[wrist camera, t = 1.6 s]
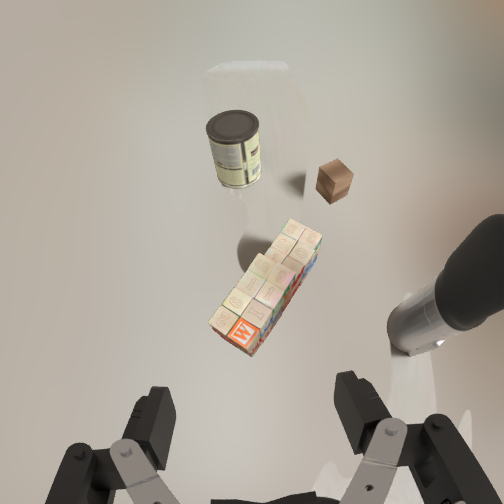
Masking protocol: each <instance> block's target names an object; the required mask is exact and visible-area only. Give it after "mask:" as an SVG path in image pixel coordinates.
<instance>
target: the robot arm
mask: <svg viewBox="0 0 504 504" xmlns="http://www.w3.org/2000/svg"><path fill="white" fill-rule="evenodd" d="M503 309H504V214H495V215H492V216H490V217H488V218H486V219H485V220H483V221H482V222H481V223H480V224H479V225H478V226H477V227H475V229H474V230H473V231H472V232H471V233H470V234H469V235H468V236H467V237H466V239H465V240H464V241H463V242H462V243H461V244H460V246H459V247H458V248H457V249H456V250H455V251H454V252H453V253H452V255H451V256H450V257H449V259H448V260H447V263H446V265H445V268H444V270H442V271H441V272H440V273H439V274H438V275H437V276H436V277H434V278H433V279H432V280H431V281H429V282H428V283H427V284H426V285H425V286H423V287H422V288H421V289H419V290H418V291H417V292H416V293H415V294H413V295H412V296H411V297H409V298H408V299H407V300H405V301H404V302H403V303H401V304H400V305H399V306H398V307H396V308H395V309H394V310H393V311H392V312H391V314H390V316H389V318H388V322H387V333H388V336H389V339H390V341H391V343H392V344H393V345H394V346H395V347H396V348H397V349H399V350H401V351H404V352H407V353H408V354H409V356H414V355H418V354H421V353H424V352H427V351H430V350H433V349H436V348H438V347H439V346H440V345H441V343H442V342H443V341H444V340H446V339H448V338H451V337H453V336H456V335H458V334H460V333H463V332H465V331H467V330H470V329H472V328H475V327H477V326H479V325H480V324H482V323H483V322H484V321H485V320H486V319H487V317H488V316H491V315H493V314H495V313H497V312H499V311H500V310H503ZM334 404H335V408H336V410H337V412H338V415H339V417H340V420H341V422H342V425H343V427H344V429H345V432H346V434H347V437H348V439H349V442H350V444H351V447H352V449H353V452H354V454H355V455H356V454H360V453H363V456H364V458H363V459H362V461H361V463H360V465H359V467H358V469H357V471H356V473H355V475H354V477H353V479H352V481H351V483H350V485H349V486H348V488H347V490H346V492H345V494H344V496H343V497H342V499H341V501H339V500H336V499H332V498H327V497H317V496H316V492H315V491H313V492H307V493H301V494H294V495H289V496H286V497H283V498H280V499H276V500H273V501H270V502H266V503H257V502H250V501H242V500H237V499H234V500H214V499H212V500H211V504H384V501H385V499H386V497H387V494H388V492H389V489H390V487H391V484H392V482H393V479H394V476H395V473H396V471H397V467H400V466H408V467H409V469H410V471H411V473H412V476H413V478H414V480H415V482H416V485H417V487H418V489H419V492H420V494H421V496H422V499H423V501H424V504H502V502H501V500H500V498H499V497H498V495H497V493H496V491H495V489H494V488H493V486H492V484H491V483H490V481H489V479H488V477H487V476H486V474H485V473H484V471H483V469H482V467H481V466H480V464H479V463H478V461H477V459H476V458H475V456H474V455H473V453H472V452H471V450H470V448H469V447H468V445H467V444H466V442H465V441H464V439H463V438H462V436H461V435H460V433H459V432H458V430H457V429H456V427H455V426H454V424H453V423H452V422H451V420H450V419H449V418H448V417H447V416H445V415H443V414H433V415H430V416H429V417H427V418H426V420H425V422H424V423H422V424H405V423H404V422H403V421H402V420H400V419H397V418H392V416H391V415H390V413H389V411H388V410H387V408H386V406H385V405H384V403H383V402H382V400H381V398H380V397H379V395H378V393H377V392H376V390H375V389H374V387H373V385H372V384H371V383H370V382H368V381H367V380H366V379H364V378H362V379H358V378H357V376H356V375H355V373H354V371H352V370H351V371H346V372H341V373H338V374H337V376H336V383H335V391H334ZM175 421H176V410H175V407H174V404H173V400H172V398H171V394H170V391H169V388H168V387H156V386H153V387H152V388H151V390H150V393H149V395H148V396H142V397H141V398H140V399H139V400H138V401H137V402H136V404H135V406H134V409H133V412H132V414H131V418H130V419H129V421H128V424H127V426H126V429H125V431H124V434H123V437H122V439H121V440H118V441H116V442H115V443H113V444H112V446H111V448H109V449H102V450H101V449H100V450H92V449H91V447H90V446H89V445H87V444H85V443H75V444H73V445H71V446H70V447H69V448H68V449H67V451H66V453H65V455H64V457H63V460H62V462H61V465H60V467H59V469H58V472H57V474H56V477H55V479H54V482H53V484H52V487H51V489H50V492H49V494H48V497H47V500H46V502H45V504H113V501H114V497H115V492H116V490H118V489H126V490H127V492H128V494H129V495H130V497H131V499H132V500H133V502H134V504H180V503H179V502H178V501H177V499H176V498H175V497H174V495H173V494H172V493H171V491H170V490H169V489H168V487H167V486H166V485H165V483H164V482H163V480H162V479H161V478H160V476H159V475H158V474H157V470H165V467H166V463H167V458H168V453H169V448H170V444H171V439H172V435H173V430H174V426H175Z"/></svg>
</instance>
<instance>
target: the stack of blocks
mask: <svg viewBox="0 0 504 504" xmlns="http://www.w3.org/2000/svg"><path fill="white" fill-rule="evenodd" d="M321 240H322V235H321V234H319V233H317V232H315V231H313V230H312V229H310V228H308V227H305V226H303V225H302V224H300V223H298V222H296V221H294V220H292V219H289V221H288V222H287V224H286V225H285V227H284V228H283V230H282V231H281V232H280V233H279V235H278V236H277V238H276V239H275V240H274V242H273V243H272V245H271V246H270V247H269V249H268V250H267V252H266V253H265V255H263V254H261V253H258V255H257V256H256V257H255V259H254V260H253V262H252V263H251V265H250V266H249V267H248V270H247V271H246V272H245V274H244V275H243V277H242V278H241V280H240V281H239V282H238V284H237V285H236V287H234V288H233V289H232V291H231V292H230V294H229V295H228V296H227V298H226V299H225V300H224V302H223V303H222V305H221V306H220V307H219V308H218V309H217V311H216V312H215V313H214V315H213V316H212V317H211V319H210V320H209V322H208V323H209V324H210V325H211V326H212V329H213V330H214V331H215V332H217V333H218V334H219V335H220V336H221V337H222V338H224V339H225V340H226V341H228V342H229V343H231V344H232V345H234V346H235V347H237V348H239V349H240V350H242V351H243V352H245V353H246V354H248V355H249V356H251V357H252V356H253V355H254V354H255V352H256V351H257V349H258V348H259V346H260V345H261V343H263V342H264V340H265V339H266V337H267V336H268V334H269V333H270V332H271V330H272V328H273V327H274V326H275V324H276V323H277V321H278V320H279V318H280V317H281V315H282V312H283V311H284V310H285V308H286V306H287V305H288V303H289V302H290V300H291V298H292V296H293V295H294V294H295V292H296V290H297V289H298V287H299V286H300V285H301V284H302V282H303V281H304V279H305V278H306V276H307V274H308V272H309V271H310V269H311V268H312V266H313V264H314V263H315V261H316V258H317V255H318V252H319V249H320V243H321Z"/></svg>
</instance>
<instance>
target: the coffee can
mask: <svg viewBox="0 0 504 504" xmlns="http://www.w3.org/2000/svg"><path fill="white" fill-rule="evenodd" d="M258 128H259V121H258V119H257V117H256V116H255V115H254V114H252V113H250V112H247V111H243V110H230V111H225V112H222V113H220V114H217V115H216V116H214V117H213V118H211V119H210V120H209V122H208V123H207V125H206V132H207V135H208V137H209V142H210V146H211V150H212V154H213V158H214V163H215V167H216V171H217V176H218V179H219V181H220V182H221V183H222V184H224V185H225V186H227V187H230V188H244V187H247V186H250V185H252V184H254V183H255V182H256V181H257V180H258V179H259V177H260V175H261V160H260V145H259V130H258Z"/></svg>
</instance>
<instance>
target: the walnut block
mask: <svg viewBox="0 0 504 504" xmlns="http://www.w3.org/2000/svg"><path fill="white" fill-rule="evenodd" d="M353 175H354V174H353V173H352V172H351V171H350V170H349V169H348V168H347V167H346V166H345V165H344V164H343V163H342V162H341V161H340V160H339V159H336V160H333V161H331V162H329V163H327V164H325V165H323V166H321V167H319V173H318V178H317V184H316V190H317V191H318V192H319V193H320V194H321V195H322V196H323V198H324V199H326V201H327V202H328V203H329V204H332V203H334V202H336V201H338V200H339V199H341V198H343V197H345V196H346V195H347V193H348V190H349V187H350V184H351V181H352V178H353Z"/></svg>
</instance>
